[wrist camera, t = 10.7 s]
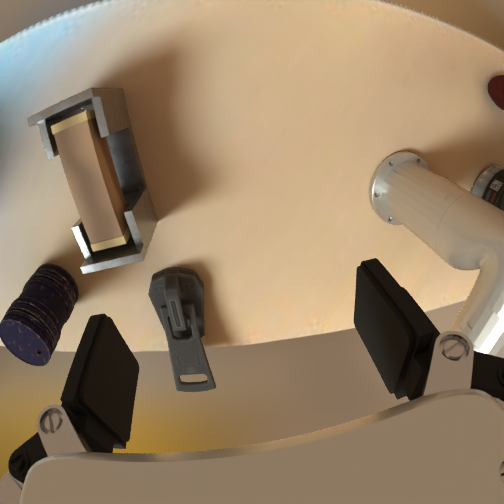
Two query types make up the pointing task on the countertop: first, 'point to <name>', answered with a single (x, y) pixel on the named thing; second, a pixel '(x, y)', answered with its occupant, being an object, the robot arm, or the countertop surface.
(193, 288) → the zipper pull
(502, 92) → the potato
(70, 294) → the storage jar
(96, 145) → the brown rectangular block
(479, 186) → the supplement tub
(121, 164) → the grey cradle stand
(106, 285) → the countertop surface
